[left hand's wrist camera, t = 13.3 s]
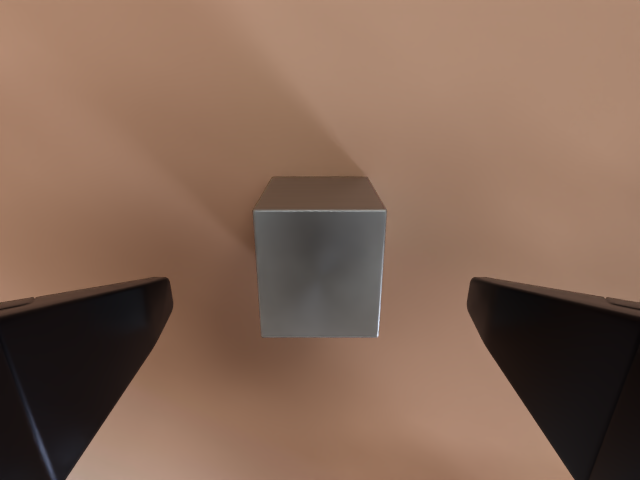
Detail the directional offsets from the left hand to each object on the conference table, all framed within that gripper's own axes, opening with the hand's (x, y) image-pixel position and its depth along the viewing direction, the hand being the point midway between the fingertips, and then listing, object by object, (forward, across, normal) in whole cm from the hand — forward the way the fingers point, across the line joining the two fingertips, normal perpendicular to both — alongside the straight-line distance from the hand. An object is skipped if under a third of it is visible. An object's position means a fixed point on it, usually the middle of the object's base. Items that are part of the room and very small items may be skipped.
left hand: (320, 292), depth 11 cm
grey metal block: (+6, 0, 0) cm, 6 cm away
